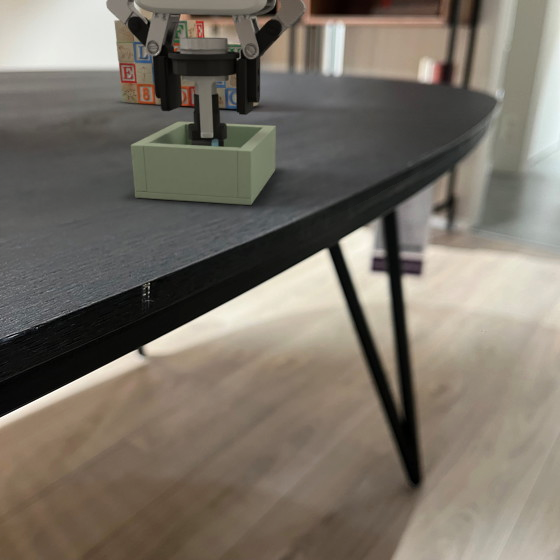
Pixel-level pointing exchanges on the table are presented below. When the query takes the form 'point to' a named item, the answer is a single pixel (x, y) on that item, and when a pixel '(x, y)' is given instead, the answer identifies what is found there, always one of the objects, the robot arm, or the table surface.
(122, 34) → the stack of blocks
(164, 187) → the open green box
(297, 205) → the table surface
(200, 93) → the push button
